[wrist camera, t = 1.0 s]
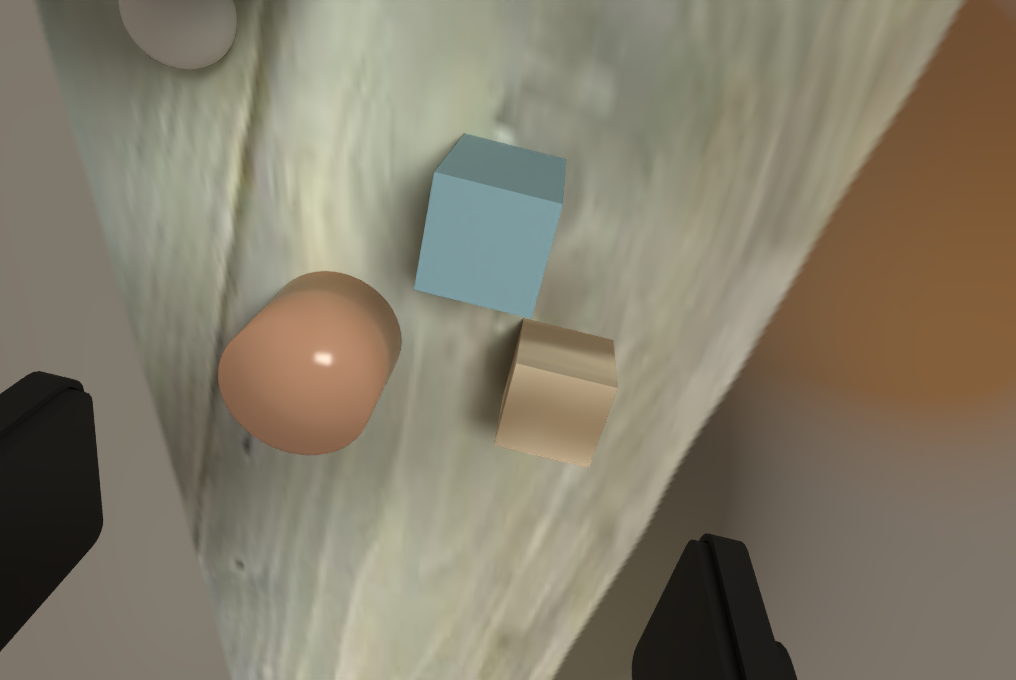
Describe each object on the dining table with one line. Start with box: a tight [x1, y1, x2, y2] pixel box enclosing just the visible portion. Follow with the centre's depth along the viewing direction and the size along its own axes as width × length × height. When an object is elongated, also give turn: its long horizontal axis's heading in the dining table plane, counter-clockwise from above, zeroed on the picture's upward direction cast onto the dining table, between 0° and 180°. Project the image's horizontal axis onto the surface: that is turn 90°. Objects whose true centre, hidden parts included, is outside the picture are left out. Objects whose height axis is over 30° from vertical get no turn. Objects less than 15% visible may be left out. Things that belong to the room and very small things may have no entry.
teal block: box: [414, 133, 566, 319], centre depth 24 cm, size 4×4×6 cm
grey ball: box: [118, 0, 237, 69], centre depth 22 cm, size 4×4×4 cm
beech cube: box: [494, 318, 618, 468], centre depth 28 cm, size 4×4×4 cm
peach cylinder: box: [218, 271, 402, 455], centre depth 28 cm, size 6×6×5 cm
